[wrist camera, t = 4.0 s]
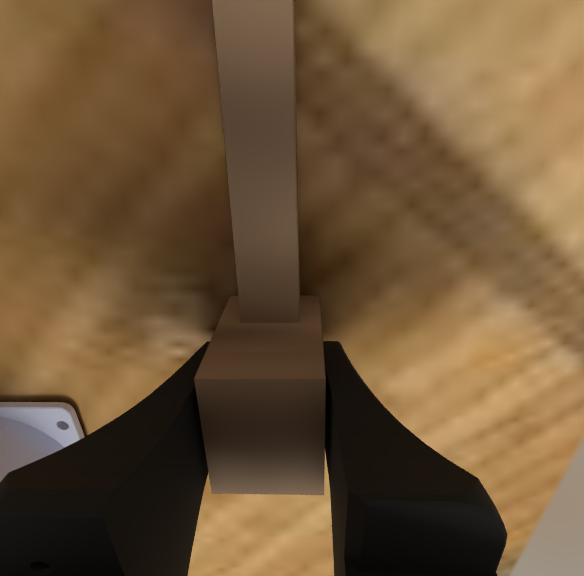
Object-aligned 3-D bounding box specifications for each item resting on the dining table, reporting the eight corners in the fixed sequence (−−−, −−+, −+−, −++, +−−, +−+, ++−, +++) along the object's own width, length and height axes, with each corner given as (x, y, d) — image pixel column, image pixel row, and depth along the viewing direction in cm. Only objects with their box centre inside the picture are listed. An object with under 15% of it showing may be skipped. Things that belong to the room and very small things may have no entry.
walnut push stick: (341, 386, 15) (356, 495, 11) (216, 386, 15) (180, 492, 11) (360, -153, 9) (413, -424, 4) (149, -142, 9) (2, -388, 5)
